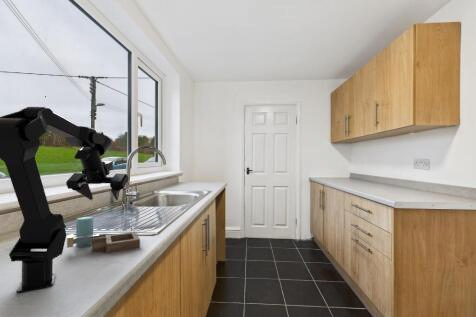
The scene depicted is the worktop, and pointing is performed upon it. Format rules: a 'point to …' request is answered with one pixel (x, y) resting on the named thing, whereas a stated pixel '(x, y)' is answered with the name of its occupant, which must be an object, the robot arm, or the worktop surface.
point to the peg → (84, 229)
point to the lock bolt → (79, 239)
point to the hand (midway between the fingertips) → (104, 199)
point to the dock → (115, 242)
